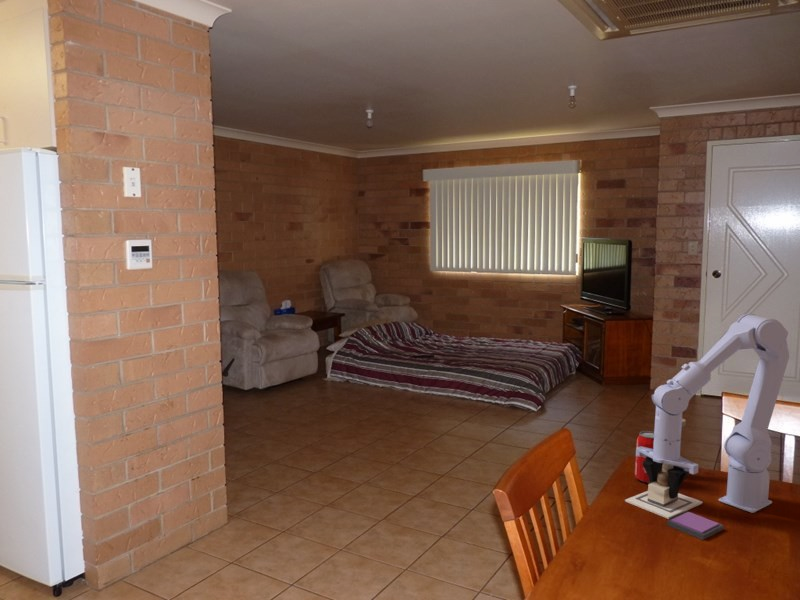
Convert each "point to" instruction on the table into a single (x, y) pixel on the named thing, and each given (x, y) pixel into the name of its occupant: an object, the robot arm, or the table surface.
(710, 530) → the ink pad
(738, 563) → the table surface
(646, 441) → the soda can
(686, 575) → the table surface
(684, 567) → the table surface
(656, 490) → the stamp
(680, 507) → the stamp board
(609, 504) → the table surface
